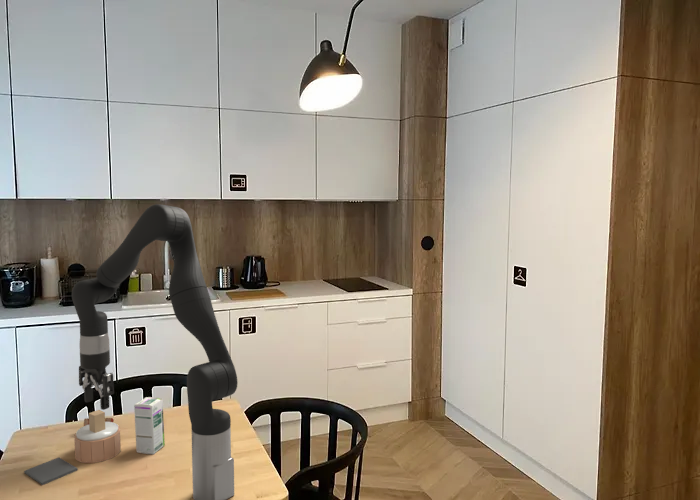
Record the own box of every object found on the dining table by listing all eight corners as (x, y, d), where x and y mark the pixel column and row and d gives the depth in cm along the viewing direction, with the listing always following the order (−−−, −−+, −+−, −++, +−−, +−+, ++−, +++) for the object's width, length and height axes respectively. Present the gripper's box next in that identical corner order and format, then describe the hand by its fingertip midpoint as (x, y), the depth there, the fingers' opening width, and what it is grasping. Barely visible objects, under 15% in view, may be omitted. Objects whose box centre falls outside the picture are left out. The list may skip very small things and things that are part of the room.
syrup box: (154, 454, 150) (152, 405, 148) (135, 452, 151) (133, 403, 149) (165, 445, 155) (163, 398, 154) (146, 443, 156) (145, 396, 155)
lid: (126, 430, 151) (125, 411, 151) (89, 444, 142) (88, 424, 142) (105, 421, 157) (104, 402, 157) (68, 434, 149) (67, 414, 148)
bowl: (128, 450, 152) (128, 430, 151) (89, 467, 143) (88, 445, 142) (106, 439, 159) (105, 420, 158) (67, 454, 149) (66, 434, 149)
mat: (77, 470, 141) (77, 468, 141) (42, 485, 133) (42, 482, 133) (59, 459, 147) (59, 457, 146) (24, 472, 139) (24, 470, 139)
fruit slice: (80, 438, 160) (79, 422, 159) (90, 428, 166) (89, 413, 166) (108, 437, 160) (107, 422, 159) (117, 428, 167) (116, 412, 166)
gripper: (121, 350, 147) (123, 407, 148) (94, 341, 155) (96, 395, 157) (95, 357, 141) (97, 415, 142) (68, 347, 149) (70, 403, 150)
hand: (96, 405), depth 149 cm, fingers open, 8 cm apart
